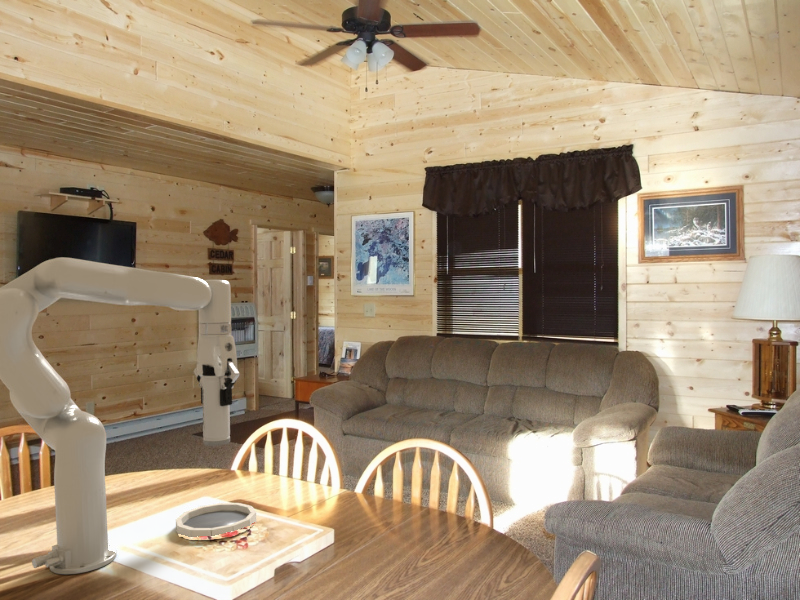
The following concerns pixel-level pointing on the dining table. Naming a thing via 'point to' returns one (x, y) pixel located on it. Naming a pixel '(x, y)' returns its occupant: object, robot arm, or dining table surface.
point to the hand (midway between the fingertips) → (216, 403)
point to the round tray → (215, 519)
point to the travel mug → (214, 410)
